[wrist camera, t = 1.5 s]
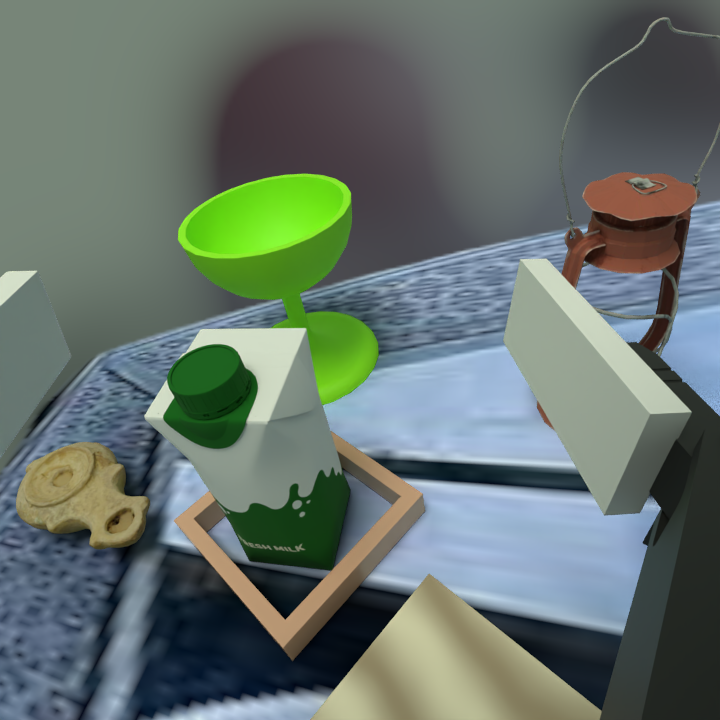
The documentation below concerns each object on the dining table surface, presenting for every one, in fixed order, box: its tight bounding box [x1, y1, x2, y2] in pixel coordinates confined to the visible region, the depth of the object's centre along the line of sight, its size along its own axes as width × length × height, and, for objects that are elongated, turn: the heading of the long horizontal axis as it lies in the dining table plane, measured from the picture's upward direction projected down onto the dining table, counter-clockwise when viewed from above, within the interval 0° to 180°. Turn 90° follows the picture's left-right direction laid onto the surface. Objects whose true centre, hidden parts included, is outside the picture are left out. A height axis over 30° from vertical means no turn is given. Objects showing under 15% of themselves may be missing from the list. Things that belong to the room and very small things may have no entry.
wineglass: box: [178, 174, 379, 405], centre depth 51 cm, size 16×16×18 cm
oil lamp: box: [16, 442, 150, 549], centre depth 44 cm, size 11×14×5 cm
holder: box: [174, 431, 425, 661], centre depth 40 cm, size 14×14×2 cm
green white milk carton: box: [145, 328, 350, 570], centre depth 35 cm, size 9×9×20 cm
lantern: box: [537, 18, 720, 430], centre depth 36 cm, size 10×10×30 cm
